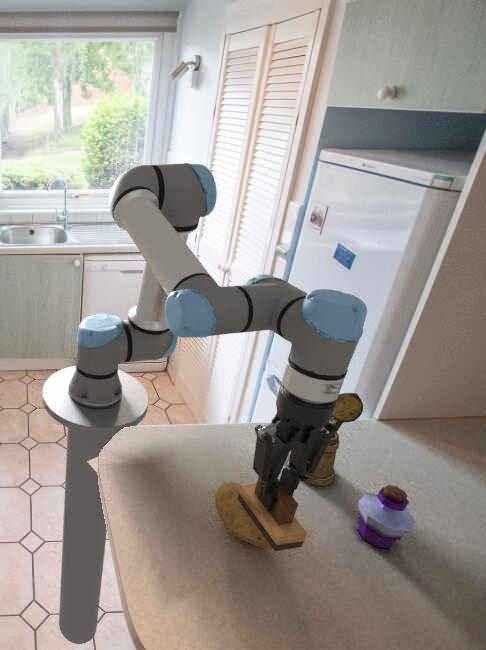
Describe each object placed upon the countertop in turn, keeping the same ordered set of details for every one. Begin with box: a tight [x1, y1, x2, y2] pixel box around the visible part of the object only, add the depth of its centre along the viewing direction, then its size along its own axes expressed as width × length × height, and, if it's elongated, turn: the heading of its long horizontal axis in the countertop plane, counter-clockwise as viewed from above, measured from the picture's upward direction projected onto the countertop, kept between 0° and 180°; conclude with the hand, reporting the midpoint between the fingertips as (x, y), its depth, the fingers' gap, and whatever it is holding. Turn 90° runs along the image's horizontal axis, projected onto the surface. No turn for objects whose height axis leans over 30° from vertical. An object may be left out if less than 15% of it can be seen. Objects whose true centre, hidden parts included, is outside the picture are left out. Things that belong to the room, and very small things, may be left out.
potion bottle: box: [357, 484, 417, 551], centre depth 84 cm, size 9×9×12 cm
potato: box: [214, 481, 274, 550], centre depth 86 cm, size 10×14×8 cm
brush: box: [237, 476, 308, 552], centre depth 78 cm, size 11×5×8 cm, turn 9°
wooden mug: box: [287, 392, 364, 486], centre depth 99 cm, size 9×14×18 cm, turn 118°
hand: (273, 503), depth 78 cm, fingers closed on brush, 2 cm apart
